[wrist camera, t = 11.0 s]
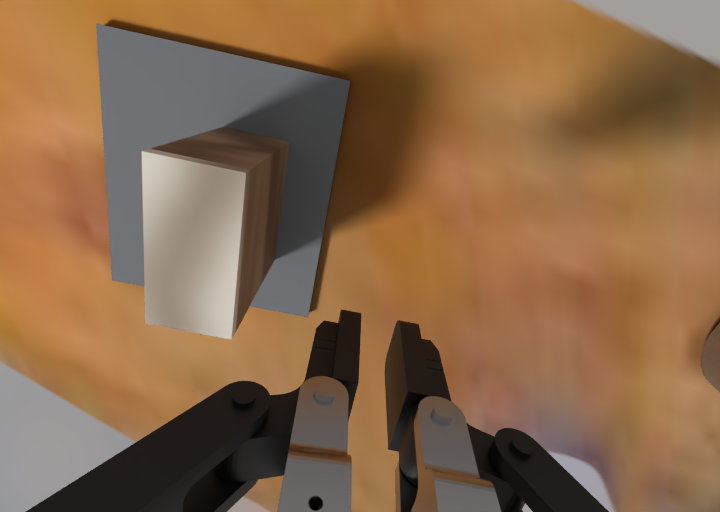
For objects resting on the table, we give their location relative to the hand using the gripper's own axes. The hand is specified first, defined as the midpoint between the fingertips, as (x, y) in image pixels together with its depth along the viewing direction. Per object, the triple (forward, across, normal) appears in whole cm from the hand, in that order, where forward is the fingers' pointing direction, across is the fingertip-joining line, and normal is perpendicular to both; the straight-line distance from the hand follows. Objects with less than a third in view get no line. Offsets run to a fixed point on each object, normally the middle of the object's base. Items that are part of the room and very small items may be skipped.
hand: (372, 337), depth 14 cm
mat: (+13, +10, 0) cm, 16 cm away
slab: (+12, +8, 0) cm, 15 cm away
